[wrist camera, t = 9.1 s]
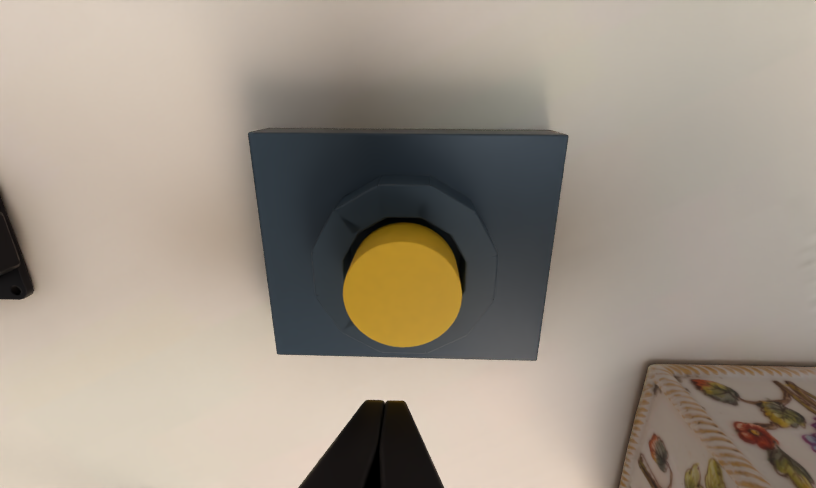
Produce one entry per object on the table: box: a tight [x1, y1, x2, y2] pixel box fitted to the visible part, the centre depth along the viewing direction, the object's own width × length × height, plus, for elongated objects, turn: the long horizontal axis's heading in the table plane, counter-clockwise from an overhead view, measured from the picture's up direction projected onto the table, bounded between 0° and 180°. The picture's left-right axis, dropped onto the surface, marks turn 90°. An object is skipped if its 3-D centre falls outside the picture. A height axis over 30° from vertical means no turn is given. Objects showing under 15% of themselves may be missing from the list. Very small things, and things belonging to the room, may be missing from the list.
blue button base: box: [248, 128, 568, 361], centre depth 17 cm, size 12×10×4 cm
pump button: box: [343, 222, 462, 347], centre depth 14 cm, size 4×4×2 cm
